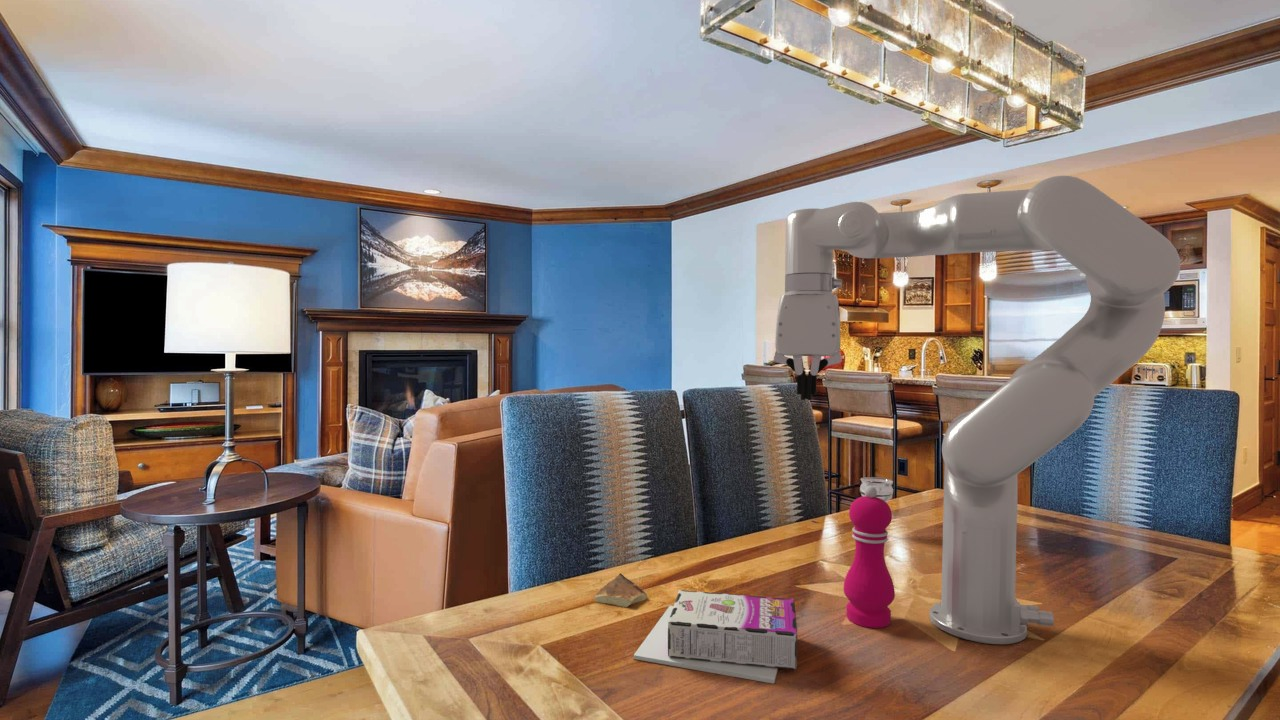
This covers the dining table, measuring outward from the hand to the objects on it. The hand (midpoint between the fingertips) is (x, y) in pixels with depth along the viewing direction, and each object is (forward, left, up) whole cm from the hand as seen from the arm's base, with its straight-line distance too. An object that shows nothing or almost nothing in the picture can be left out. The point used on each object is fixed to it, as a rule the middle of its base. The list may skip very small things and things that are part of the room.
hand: (806, 399), depth 106 cm
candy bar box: (-1, +22, -29) cm, 37 cm away
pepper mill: (-10, +7, -32) cm, 35 cm away
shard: (+29, +11, -33) cm, 45 cm away
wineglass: (-12, -39, -32) cm, 52 cm away
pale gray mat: (+10, +22, -32) cm, 40 cm away
